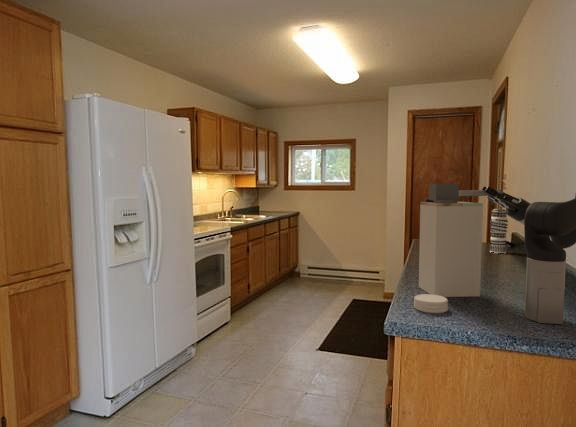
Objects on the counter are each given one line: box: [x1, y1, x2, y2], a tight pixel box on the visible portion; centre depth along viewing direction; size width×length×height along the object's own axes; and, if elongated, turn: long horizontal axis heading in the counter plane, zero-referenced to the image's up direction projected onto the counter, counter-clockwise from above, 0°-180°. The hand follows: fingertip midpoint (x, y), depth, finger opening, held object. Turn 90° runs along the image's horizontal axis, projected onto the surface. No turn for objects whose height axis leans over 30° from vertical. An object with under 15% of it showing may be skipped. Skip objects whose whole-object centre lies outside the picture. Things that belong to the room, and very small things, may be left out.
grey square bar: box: [428, 182, 502, 201], centre depth 140 cm, size 24×6×6 cm, turn 93°
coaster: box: [413, 293, 449, 314], centre depth 122 cm, size 10×10×4 cm
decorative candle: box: [489, 208, 509, 254], centre depth 225 cm, size 9×9×25 cm
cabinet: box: [418, 198, 484, 298], centre depth 141 cm, size 16×14×33 cm
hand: (484, 188), depth 140 cm, fingers closed on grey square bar
